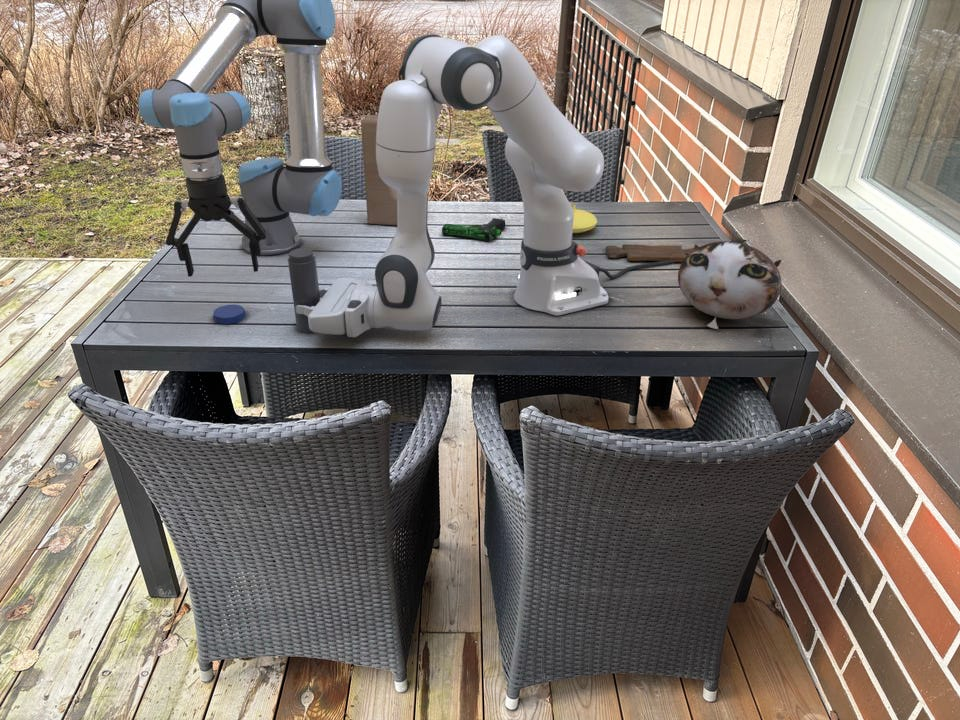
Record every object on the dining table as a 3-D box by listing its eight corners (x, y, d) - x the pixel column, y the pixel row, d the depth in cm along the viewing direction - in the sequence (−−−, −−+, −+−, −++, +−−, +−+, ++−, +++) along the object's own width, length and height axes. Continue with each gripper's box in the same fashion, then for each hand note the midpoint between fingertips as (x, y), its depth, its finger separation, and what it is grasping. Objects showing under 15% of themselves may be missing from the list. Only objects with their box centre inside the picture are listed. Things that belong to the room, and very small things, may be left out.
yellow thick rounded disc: (559, 216, 220) (561, 193, 217) (605, 227, 212) (608, 204, 209) (532, 230, 209) (533, 207, 206) (580, 242, 201) (582, 218, 198)
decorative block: (416, 227, 210) (413, 122, 195) (367, 224, 212) (359, 120, 196) (422, 218, 216) (419, 116, 201) (373, 215, 218) (367, 114, 203)
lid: (250, 318, 160) (249, 312, 159) (220, 327, 156) (219, 320, 155) (238, 307, 164) (237, 301, 163) (209, 315, 160) (208, 309, 160)
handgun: (511, 219, 210) (493, 234, 198) (511, 228, 211) (492, 244, 199) (461, 212, 215) (440, 226, 203) (461, 221, 217) (440, 236, 204)
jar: (298, 321, 159) (289, 247, 150) (324, 320, 159) (316, 247, 150) (295, 333, 154) (285, 258, 145) (321, 332, 154) (313, 257, 146)
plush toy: (655, 305, 156) (684, 221, 158) (671, 327, 172) (697, 250, 173) (760, 330, 146) (790, 239, 147) (766, 351, 161) (793, 268, 163)
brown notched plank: (705, 264, 190) (697, 250, 198) (707, 258, 189) (698, 245, 198) (608, 261, 190) (604, 247, 199) (609, 255, 189) (605, 241, 198)
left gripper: (134, 184, 139) (160, 283, 150) (266, 178, 143) (282, 274, 154) (142, 172, 145) (166, 268, 156) (269, 166, 149) (283, 260, 160)
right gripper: (377, 272, 159) (317, 268, 161) (349, 314, 142) (283, 308, 143) (379, 298, 162) (320, 293, 164) (352, 341, 145) (287, 336, 147)
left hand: (224, 271), depth 155 cm, fingers open, 13 cm apart
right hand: (302, 301), depth 154 cm, fingers closed on jar, 6 cm apart
